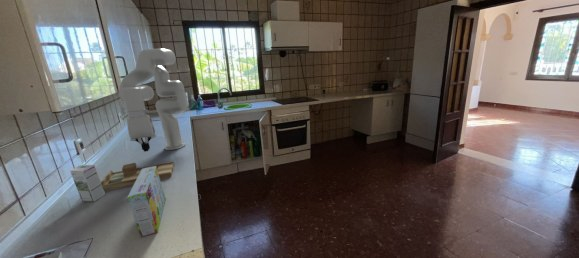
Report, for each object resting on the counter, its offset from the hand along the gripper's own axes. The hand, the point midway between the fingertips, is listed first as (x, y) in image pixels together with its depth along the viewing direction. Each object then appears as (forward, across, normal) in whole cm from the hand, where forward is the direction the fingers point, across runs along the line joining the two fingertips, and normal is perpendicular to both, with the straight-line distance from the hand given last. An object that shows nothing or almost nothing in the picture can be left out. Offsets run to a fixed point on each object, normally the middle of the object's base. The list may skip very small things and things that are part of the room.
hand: (146, 150), depth 114 cm
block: (+10, +9, -1) cm, 14 cm away
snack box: (+13, -7, +40) cm, 43 cm away
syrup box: (+13, +20, +14) cm, 28 cm away
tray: (+12, +4, +2) cm, 13 cm away
